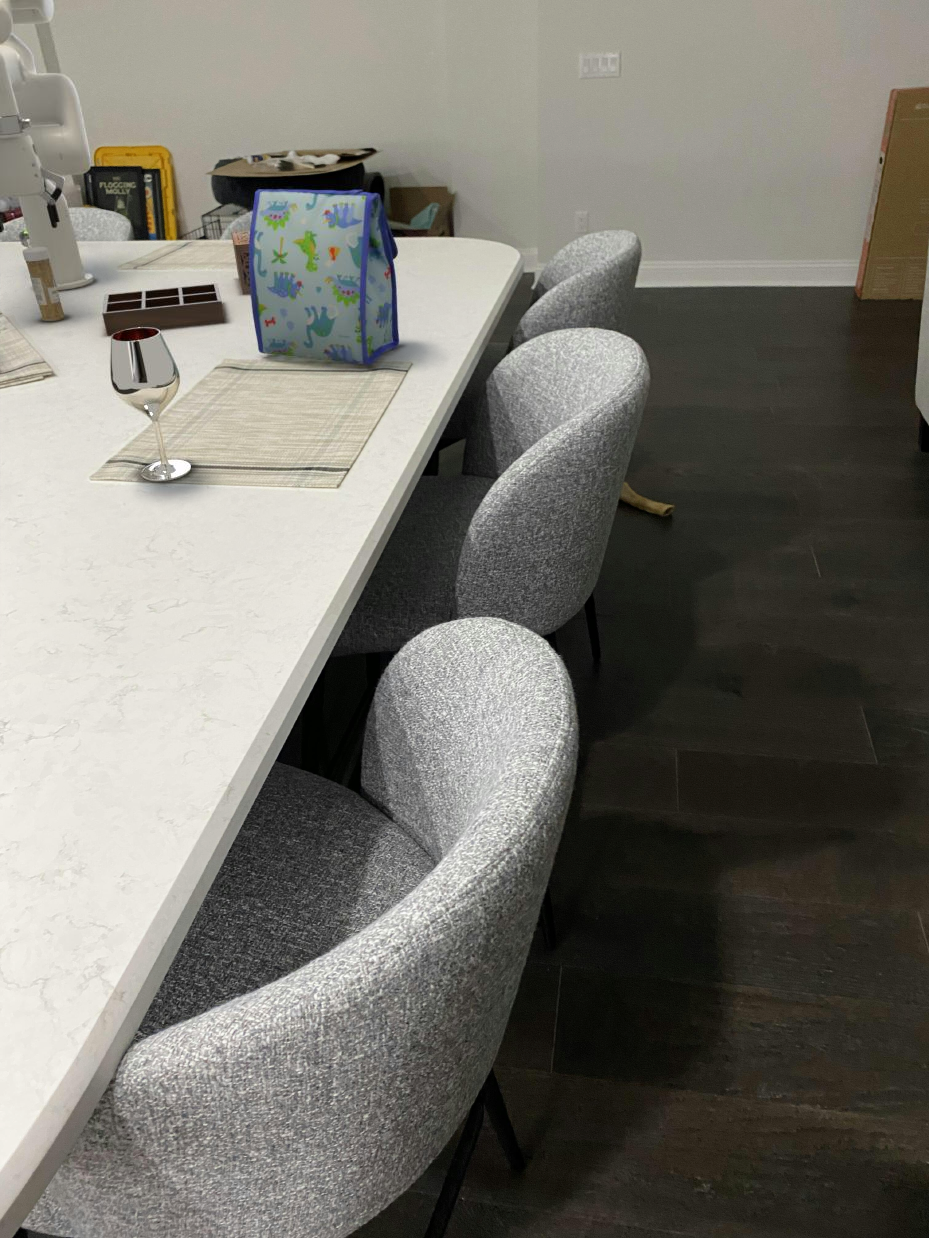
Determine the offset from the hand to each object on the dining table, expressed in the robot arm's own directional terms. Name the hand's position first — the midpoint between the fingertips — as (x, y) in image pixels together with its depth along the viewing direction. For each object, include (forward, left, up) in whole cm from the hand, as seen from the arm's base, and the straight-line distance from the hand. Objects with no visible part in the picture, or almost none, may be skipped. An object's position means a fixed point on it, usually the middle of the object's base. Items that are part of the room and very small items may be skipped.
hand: (28, 229), depth 176 cm
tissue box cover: (-12, +51, -17) cm, 55 cm away
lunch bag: (+41, +50, -17) cm, 67 cm away
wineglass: (+84, +21, -17) cm, 89 cm away
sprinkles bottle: (-1, 0, -17) cm, 17 cm away
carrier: (+8, +22, -17) cm, 29 cm away
